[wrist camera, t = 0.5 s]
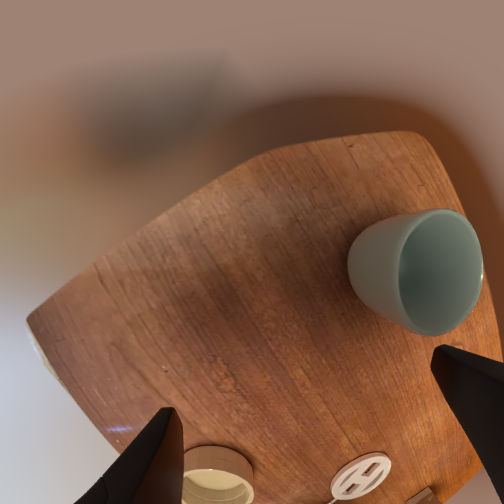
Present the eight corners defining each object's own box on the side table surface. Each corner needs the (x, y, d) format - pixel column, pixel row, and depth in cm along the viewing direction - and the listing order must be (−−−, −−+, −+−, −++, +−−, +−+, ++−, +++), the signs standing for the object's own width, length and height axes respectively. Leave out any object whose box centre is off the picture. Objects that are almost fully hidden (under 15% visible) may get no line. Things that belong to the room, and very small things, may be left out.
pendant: (399, 456, 25) (402, 459, 24) (345, 509, 25) (347, 513, 24) (360, 447, 24) (362, 451, 24) (304, 504, 24) (305, 508, 24)
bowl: (231, 497, 24) (231, 520, 20) (167, 474, 24) (160, 497, 20) (266, 459, 24) (269, 484, 20) (195, 433, 24) (189, 457, 20)
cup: (397, 209, 24) (470, 194, 14) (417, 288, 24) (489, 306, 14) (324, 234, 24) (378, 228, 14) (348, 319, 24) (406, 359, 14)
